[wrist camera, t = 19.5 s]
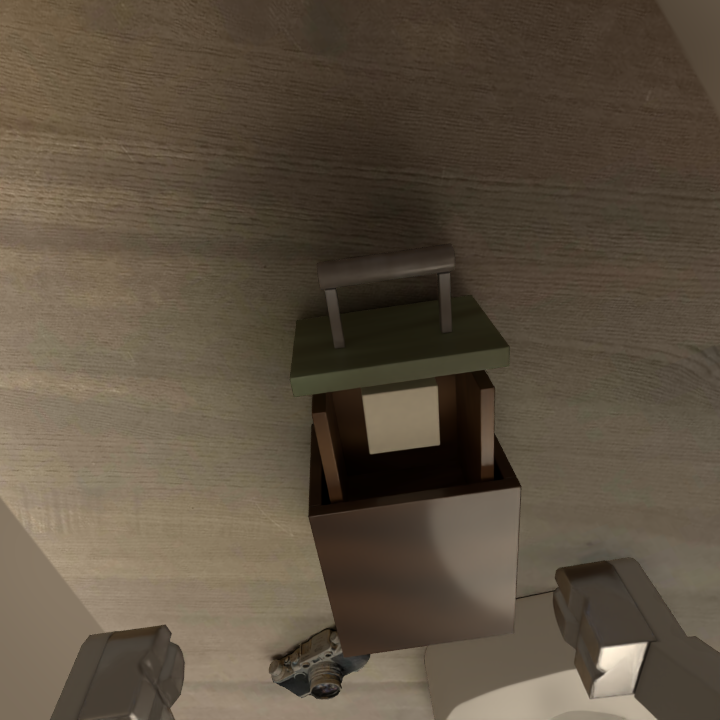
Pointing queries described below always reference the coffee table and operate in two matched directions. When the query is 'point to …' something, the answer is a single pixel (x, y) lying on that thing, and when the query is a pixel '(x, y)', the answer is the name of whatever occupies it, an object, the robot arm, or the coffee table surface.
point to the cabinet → (419, 561)
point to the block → (401, 415)
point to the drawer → (399, 377)
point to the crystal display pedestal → (518, 675)
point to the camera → (316, 667)
